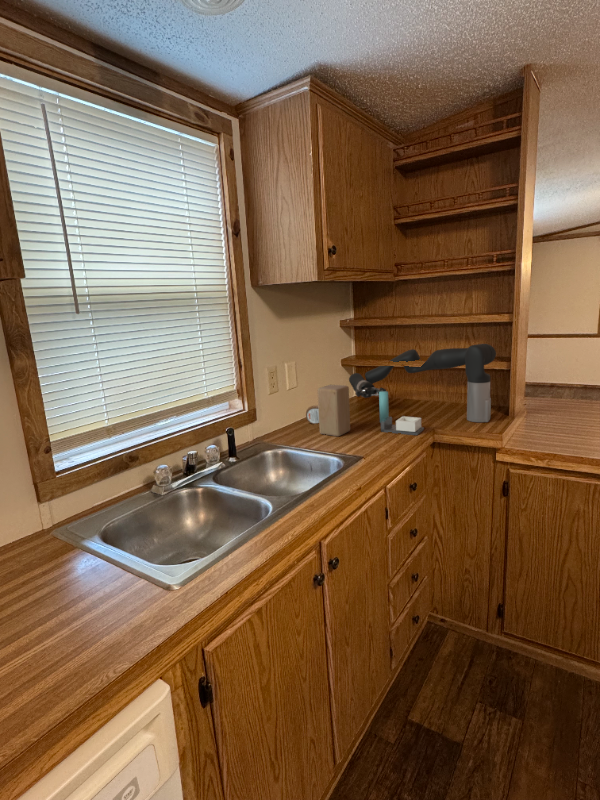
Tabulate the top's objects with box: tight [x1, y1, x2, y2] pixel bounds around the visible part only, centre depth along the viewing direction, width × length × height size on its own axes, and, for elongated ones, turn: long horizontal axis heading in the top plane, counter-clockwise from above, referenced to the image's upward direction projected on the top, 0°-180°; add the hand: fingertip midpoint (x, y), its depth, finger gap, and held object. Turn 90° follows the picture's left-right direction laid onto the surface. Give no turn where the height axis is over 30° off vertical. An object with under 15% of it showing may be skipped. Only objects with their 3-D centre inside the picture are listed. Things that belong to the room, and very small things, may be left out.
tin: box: [305, 405, 319, 425], centre depth 208 cm, size 15×3×8 cm, turn 84°
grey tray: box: [380, 416, 425, 436], centre depth 188 cm, size 16×9×4 cm, turn 58°
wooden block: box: [317, 384, 351, 437], centre depth 190 cm, size 10×10×20 cm
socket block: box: [395, 415, 422, 432], centre depth 187 cm, size 8×8×4 cm
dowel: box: [378, 390, 390, 424], centre depth 202 cm, size 4×4×14 cm
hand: (374, 395), depth 213 cm, fingers open, 8 cm apart
